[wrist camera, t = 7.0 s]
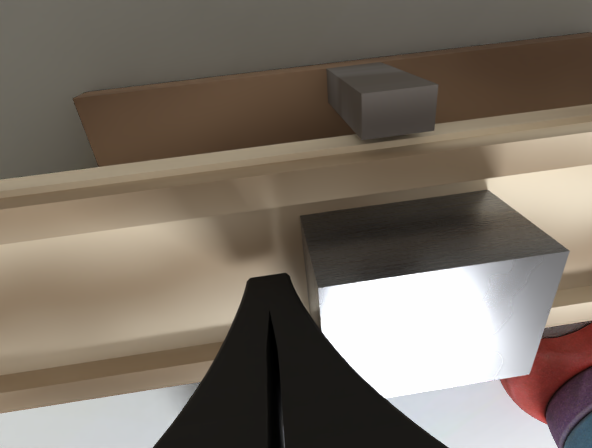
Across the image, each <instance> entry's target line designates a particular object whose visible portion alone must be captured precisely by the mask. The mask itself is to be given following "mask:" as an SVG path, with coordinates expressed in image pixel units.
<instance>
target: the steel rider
mask: <svg viewBox="0 0 592 448" xmlns="http://www.w3.org/2000/svg"><path fill="white" fill-rule="evenodd" d="M300 223H301V232H302V242H303V252H304V262H305V271H306V281H307V291H308V300H309V310H310V315H311V317H312V318H313V320H314V321H315V323H316V324H317V326H318V327H319V328H320V330H321V331H322V332H323V334H324V335H325V336H326V338H327V339H328V340H329V341H330V343H331V344H332V345H333V346H334V347H335V349H336V350H337V351H338V352H339V353H340V354H341V356H342V357H343V358H344V359H345V360H346V361H347V362H348V363H349V364H350V365H351V366H352V367H353V368H354V369H355V370H356V371H357V372H358V373H359V375H360V376H361V377H362V378H363V379H364V380H365V381H367V382H368V383H369V384H370V385H371V386H372V387H373V388H374V389H375V390H377V391H378V392H379V393H380V394H381V395H382V396H383V397H384V398H389V397H395V396H401V395H407V394H413V393H419V392H425V391H431V390H438V389H444V388H450V387H456V386H462V385H468V384H474V383H480V382H486V381H493V380H499V379H505V378H511V377H517V376H523V375H529V374H530V371H531V368H532V365H533V362H534V359H535V356H536V353H537V350H538V347H539V344H540V341H541V338H542V335H543V332H544V329H545V326H546V323H547V319H548V316H549V313H550V310H551V307H552V304H553V301H554V298H555V295H556V292H557V289H558V286H559V283H560V280H561V277H562V274H563V271H564V268H565V265H566V262H567V258H568V255H569V252H570V251H569V250H568V249H567V248H565V247H564V246H563V245H561V244H560V243H559V242H557V241H556V240H555V239H553V238H552V237H551V236H549V235H548V234H547V233H545V232H544V231H543V230H541V229H540V228H539V227H537V226H536V225H535V224H533V223H532V222H531V221H529V220H528V219H527V218H525V217H524V216H523V215H521V214H520V213H519V212H517V211H516V210H515V209H513V208H512V207H511V206H509V205H508V204H507V203H505V202H504V201H502V200H501V199H500V198H498V197H497V196H496V195H494V194H493V193H492V192H490V191H489V190H481V191H474V192H467V193H459V194H452V195H445V196H438V197H430V198H423V199H416V200H409V201H401V202H394V203H387V204H380V205H372V206H365V207H358V208H351V209H343V210H336V211H329V212H322V213H314V214H307V215H300Z"/></svg>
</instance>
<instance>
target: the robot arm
mask: <svg viewBox="0 0 592 448" xmlns="http://www.w3.org/2000/svg"><path fill="white" fill-rule="evenodd" d="M153 448H448V447H447V446H445V445H444V444H443V443H441V442H440V441H438V440H437V439H436V438H434V437H433V436H431V435H430V434H429V433H427V432H426V431H425V430H423V429H422V428H421V427H419V426H418V425H417V424H416V423H414V422H413V421H412V420H411V419H409V418H408V417H407V416H406V415H404V414H403V413H402V412H401V411H399V410H398V409H397V408H396V407H394V406H393V405H392V404H391V403H390V402H389V401H388V400H387V399H385V398H384V397H383V396H382V395H381V394H380V393H379V392H378V391H377V390H375V389H374V388H373V387H372V386H371V385H370V384H369V383H368V382H367V381H365V380H364V379H363V378H362V377H361V376H360V375H359V373H358V372H357V371H356V370H355V369H354V368H353V367H352V366H351V365H350V364H349V363H348V362H347V361H346V360H345V359H344V358H343V357H342V356H341V354H340V353H339V352H338V351H337V350H336V349H335V347H334V346H333V345H332V344H331V343H330V341H329V340H328V339H327V338H326V336H325V335H324V334H323V332H322V331H321V330H320V328H319V327H318V326H317V324H316V323H315V321H314V320H313V318H312V317H311V315H310V314H309V312H308V311H307V309H306V308H305V306H304V305H303V303H302V301H301V300H300V298H299V296H298V294H297V292H296V290H295V288H294V286H293V284H292V281H291V279H290V275H288V274H287V273H280V274H273V275H266V276H259V277H253V278H249V280H248V281H247V283H246V287H245V290H244V294H243V297H242V300H241V303H240V305H239V308H238V311H237V313H236V315H235V318H234V320H233V322H232V325H231V327H230V329H229V331H228V334H227V336H226V338H225V340H224V342H223V344H222V345H221V347H220V349H219V351H218V353H217V355H216V357H215V359H214V361H213V363H212V364H211V366H210V368H209V370H208V371H207V373H206V375H205V376H204V378H203V379H202V381H201V383H200V384H199V386H198V387H197V389H196V390H195V392H194V393H193V395H192V396H191V398H190V399H189V401H188V402H187V404H186V405H185V406H184V408H183V409H182V411H181V412H180V414H179V415H178V416H177V418H176V419H175V420H174V422H173V423H172V424H171V426H170V427H169V428H168V430H167V431H166V432H165V433H164V434H163V436H162V437H161V438H160V439H159V441H158V442H157V443H156V444H155V446H154V447H153Z"/></svg>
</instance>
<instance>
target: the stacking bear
mask: <svg viewBox="0 0 592 448" xmlns="http://www.w3.org/2000/svg"><path fill="white" fill-rule="evenodd" d="M500 380H501V383H502V385H503V387H504V389H505V390H506V392H507V393H508V395H509V396H510V397H511V398H512V400H513V401H514V402H515V403H516V404H517V405H518V406H519V407H520V408H521V409H522V410H524V411H525V412H526V413H528V414H529V415H531V416H532V417H534V418H536V419H537V420H539V421H541V422H543V423H545V424H548V427H549V429H550V432H551V434H552V436H553V439H554V441H555V443H556V445H557V447H558V448H592V323H591V324H589V325H588V326H586V327H584V328H582V329H580V330H578V331H576V332H573V333H570V334H568V335H565V336H562V337H557V338H543V339H541V341H540V344H539V347H538V350H537V353H536V356H535V359H534V362H533V365H532V368H531V371H530V374H529V375H523V376H517V377H511V378H505V379H500Z"/></svg>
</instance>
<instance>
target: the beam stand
mask: <svg viewBox="0 0 592 448" xmlns="http://www.w3.org/2000/svg"><path fill="white" fill-rule="evenodd" d="M73 101H74V104H75V106H76V109H77V111H78V114H79V117H80V119H81V122H82V125H83V127H84V130H85V132H86V135H87V138H88V140H89V143H90V146H91V148H92V151H93V153H94V156H95V159H96V161H97V164H98V166H99V167H103V166H111V165H119V164H126V163H134V162H142V161H150V160H158V159H165V158H173V157H181V156H189V155H197V154H205V153H212V152H220V151H228V150H236V149H244V148H252V147H259V146H267V145H275V144H283V143H291V142H299V141H306V140H314V139H322V138H330V137H338V136H346V135H353V134H357V135H358V136H359V138H360V139H361V140H367V139H375V138H383V137H391V136H398V135H406V134H414V133H421V132H429V131H434V128H435V124H439V123H447V122H455V121H463V120H471V119H479V118H486V117H494V116H502V115H510V114H518V113H526V112H533V111H541V110H549V109H557V108H565V107H573V106H580V105H588V104H592V33H580V34H572V35H563V36H555V37H546V38H538V39H529V40H521V41H513V42H504V43H496V44H487V45H479V46H470V47H462V48H454V49H445V50H437V51H428V52H420V53H411V54H403V55H395V56H386V57H378V58H369V59H361V60H352V61H344V62H336V63H327V64H319V65H310V66H302V67H293V68H285V69H277V70H268V71H260V72H251V73H243V74H234V75H226V76H218V77H209V78H201V79H192V80H184V81H175V82H167V83H159V84H150V85H142V86H133V87H125V88H116V89H108V90H100V91H91V92H85V93H83V94H81V95H79V96H77V97H75V98H73Z"/></svg>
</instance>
